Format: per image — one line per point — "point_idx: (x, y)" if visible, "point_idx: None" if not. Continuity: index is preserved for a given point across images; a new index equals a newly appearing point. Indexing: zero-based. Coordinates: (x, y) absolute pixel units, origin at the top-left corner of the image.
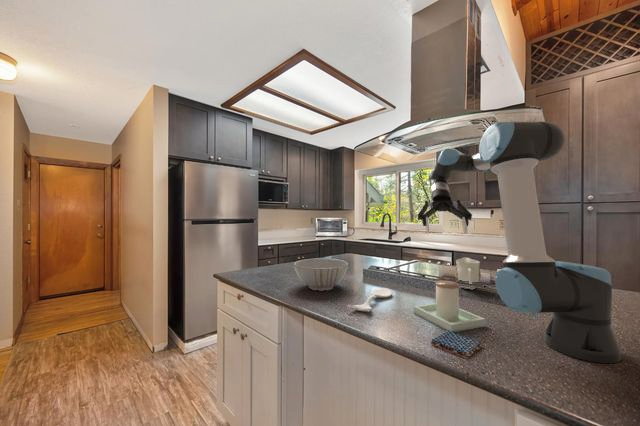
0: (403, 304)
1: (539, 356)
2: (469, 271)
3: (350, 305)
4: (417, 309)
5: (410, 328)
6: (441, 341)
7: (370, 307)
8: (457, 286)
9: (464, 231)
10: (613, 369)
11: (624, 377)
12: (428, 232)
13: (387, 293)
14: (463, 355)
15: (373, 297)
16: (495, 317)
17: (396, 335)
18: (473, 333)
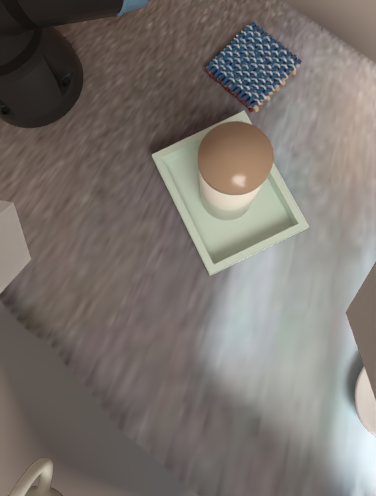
0: (321, 302)
1: (124, 48)
2: (22, 492)
3: None
4: (300, 213)
5: (327, 134)
6: (282, 57)
7: None
8: (210, 132)
9: (18, 245)
10: None
11: None
12: (355, 301)
13: (371, 392)
14: (255, 25)
15: None
16: (101, 220)
17: (363, 96)
18: (196, 124)
